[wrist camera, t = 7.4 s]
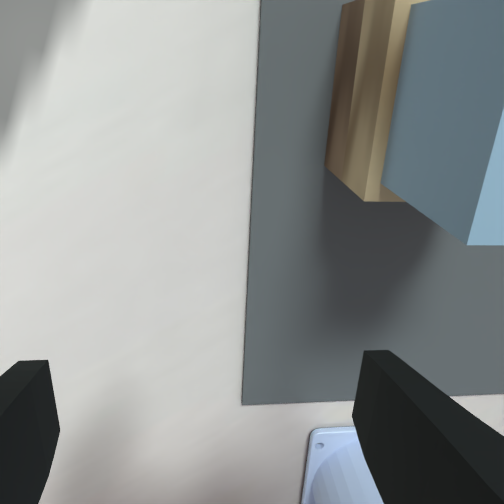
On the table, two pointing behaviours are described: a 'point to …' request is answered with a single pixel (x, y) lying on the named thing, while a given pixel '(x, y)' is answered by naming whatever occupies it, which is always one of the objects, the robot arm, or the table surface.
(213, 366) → the table surface
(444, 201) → the cube
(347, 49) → the slab lower
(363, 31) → the slab upper
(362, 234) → the mat
